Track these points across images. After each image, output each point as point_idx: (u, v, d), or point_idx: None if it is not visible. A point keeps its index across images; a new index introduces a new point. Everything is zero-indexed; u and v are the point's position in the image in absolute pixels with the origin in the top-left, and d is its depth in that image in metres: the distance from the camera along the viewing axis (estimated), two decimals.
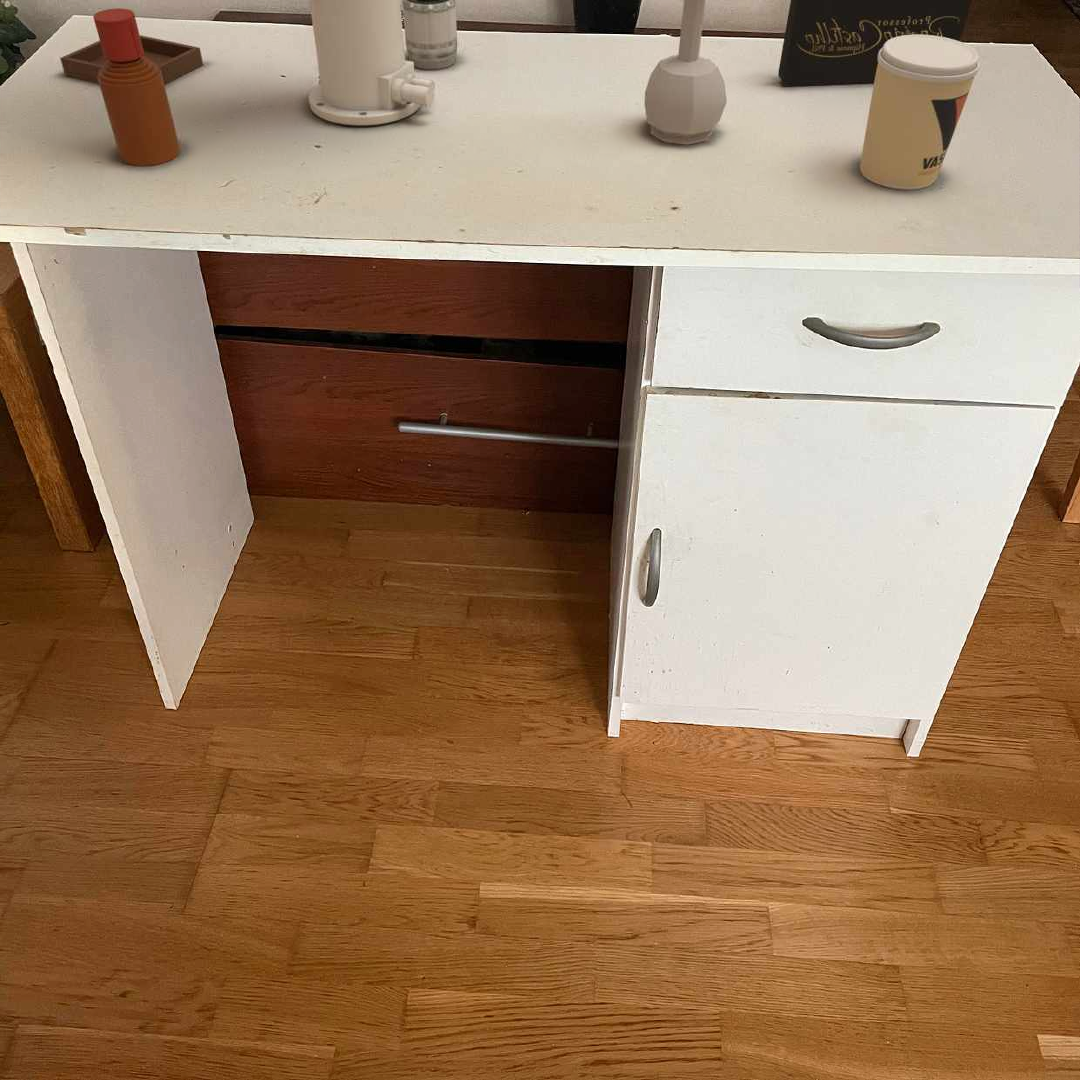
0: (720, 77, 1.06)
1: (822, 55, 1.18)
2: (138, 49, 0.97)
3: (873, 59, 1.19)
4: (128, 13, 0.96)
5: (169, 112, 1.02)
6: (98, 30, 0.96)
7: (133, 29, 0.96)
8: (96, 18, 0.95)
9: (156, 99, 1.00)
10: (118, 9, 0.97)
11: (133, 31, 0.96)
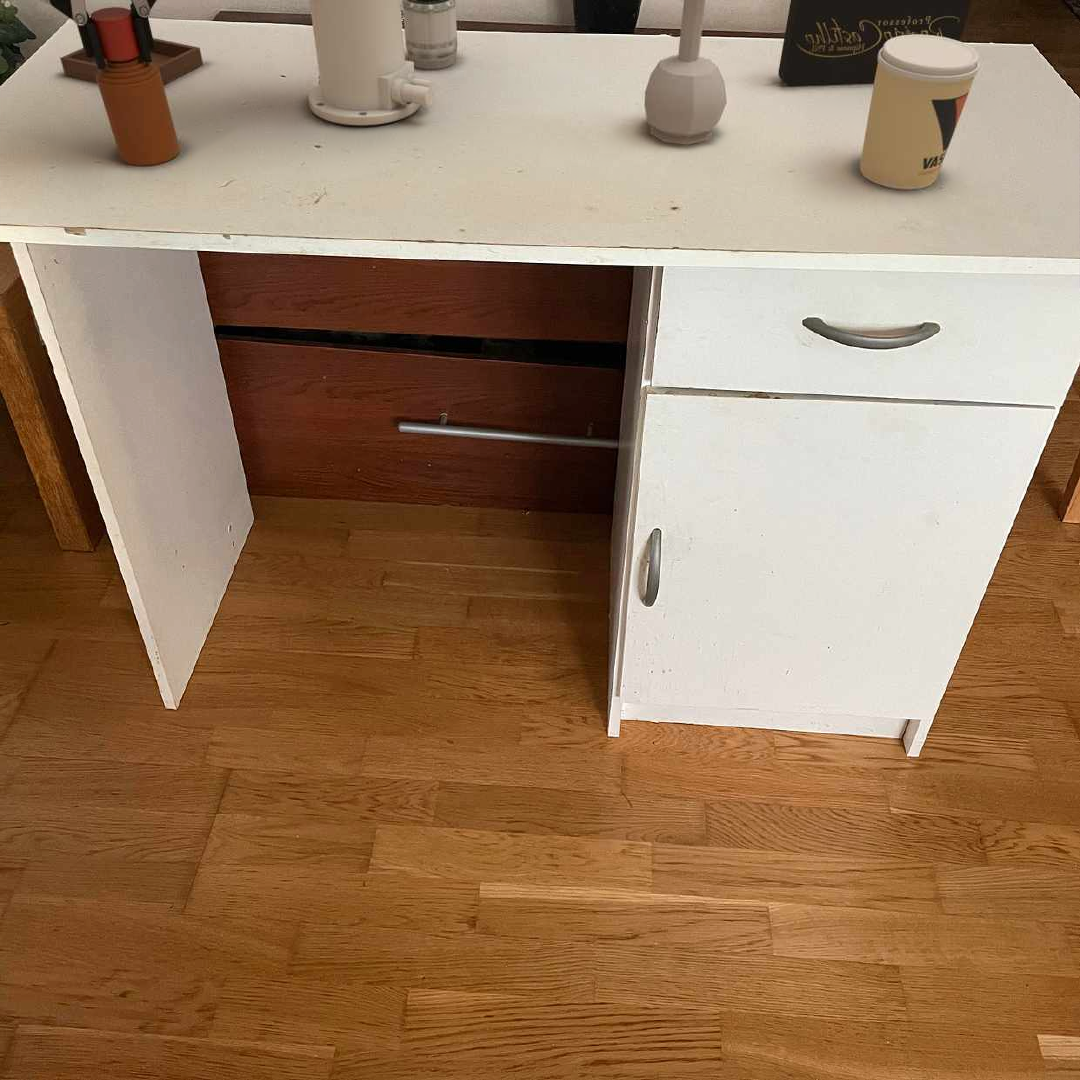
0: (720, 77, 1.06)
1: (822, 55, 1.18)
2: None
3: (873, 59, 1.19)
4: (108, 9, 0.96)
5: (168, 111, 1.02)
6: (123, 30, 0.95)
7: None
8: (118, 18, 0.95)
9: (155, 98, 1.00)
10: (93, 13, 0.95)
11: None
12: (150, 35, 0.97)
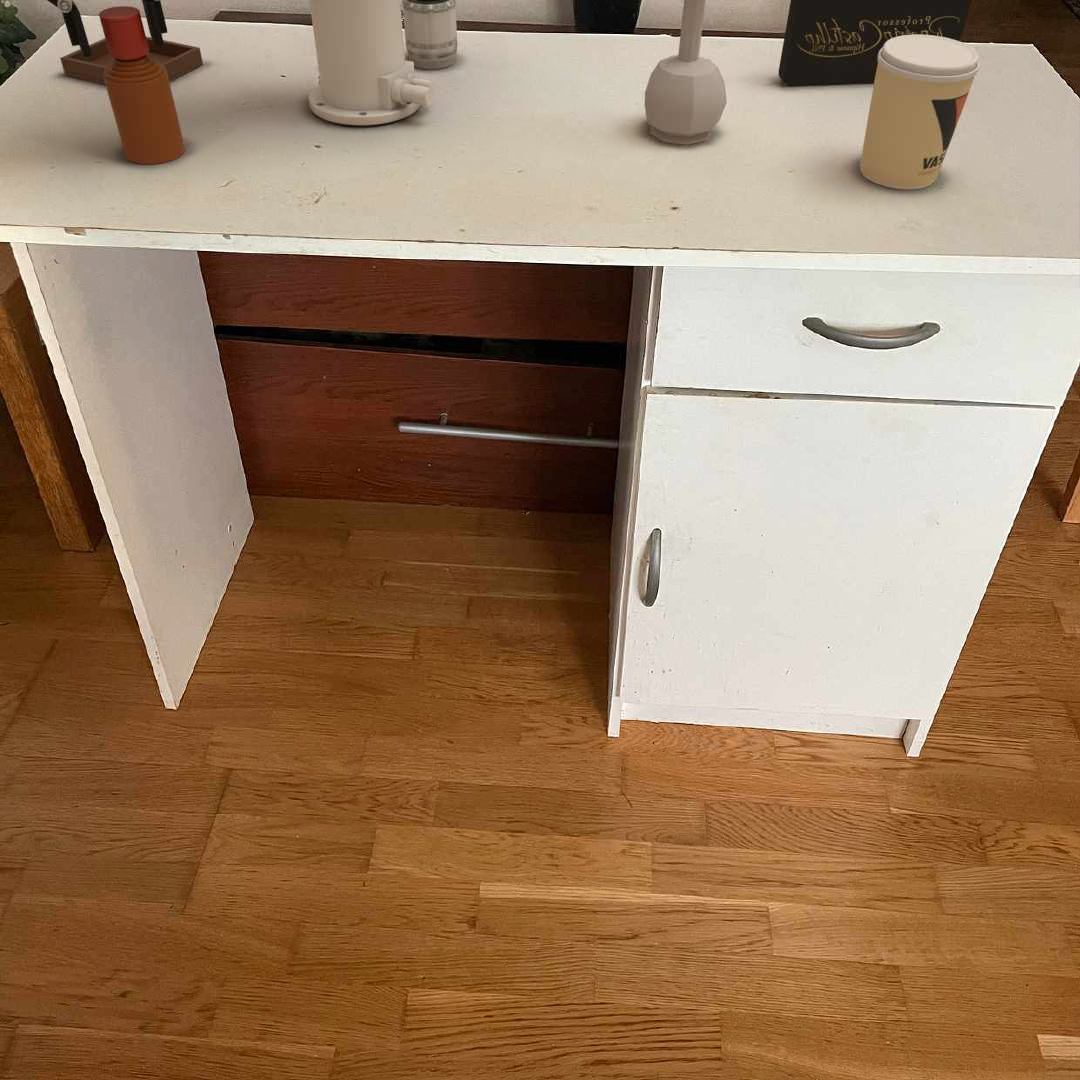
0: (720, 77, 1.06)
1: (822, 55, 1.18)
2: None
3: (873, 59, 1.19)
4: (116, 8, 0.97)
5: (174, 110, 1.03)
6: (131, 28, 0.96)
7: None
8: (126, 17, 0.95)
9: (162, 97, 1.00)
10: (102, 12, 0.96)
11: None
12: (162, 19, 0.97)
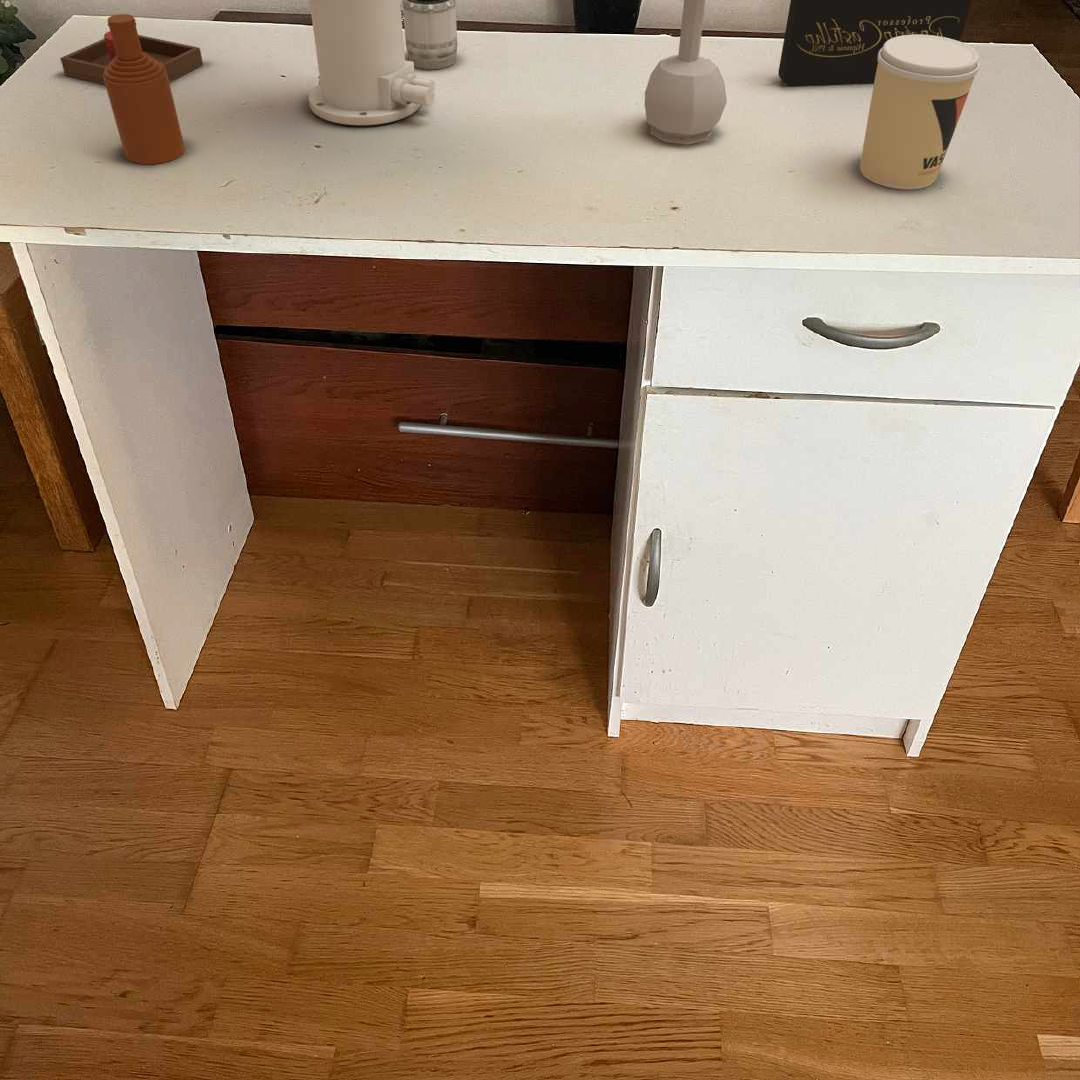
0: (720, 77, 1.06)
1: (822, 55, 1.18)
2: None
3: (873, 59, 1.19)
4: (108, 36, 1.17)
5: (174, 110, 1.03)
6: None
7: None
8: None
9: (162, 97, 1.00)
10: None
11: None
12: None
